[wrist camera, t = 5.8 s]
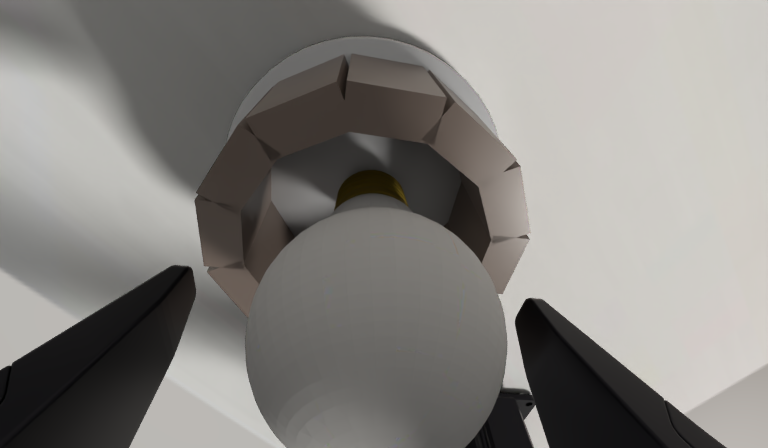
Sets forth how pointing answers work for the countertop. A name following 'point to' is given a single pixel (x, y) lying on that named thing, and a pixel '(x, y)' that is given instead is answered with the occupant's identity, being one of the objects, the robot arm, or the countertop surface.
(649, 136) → the countertop surface
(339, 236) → the light bulb
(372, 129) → the socket
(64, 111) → the countertop surface
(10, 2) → the countertop surface
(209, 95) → the countertop surface
